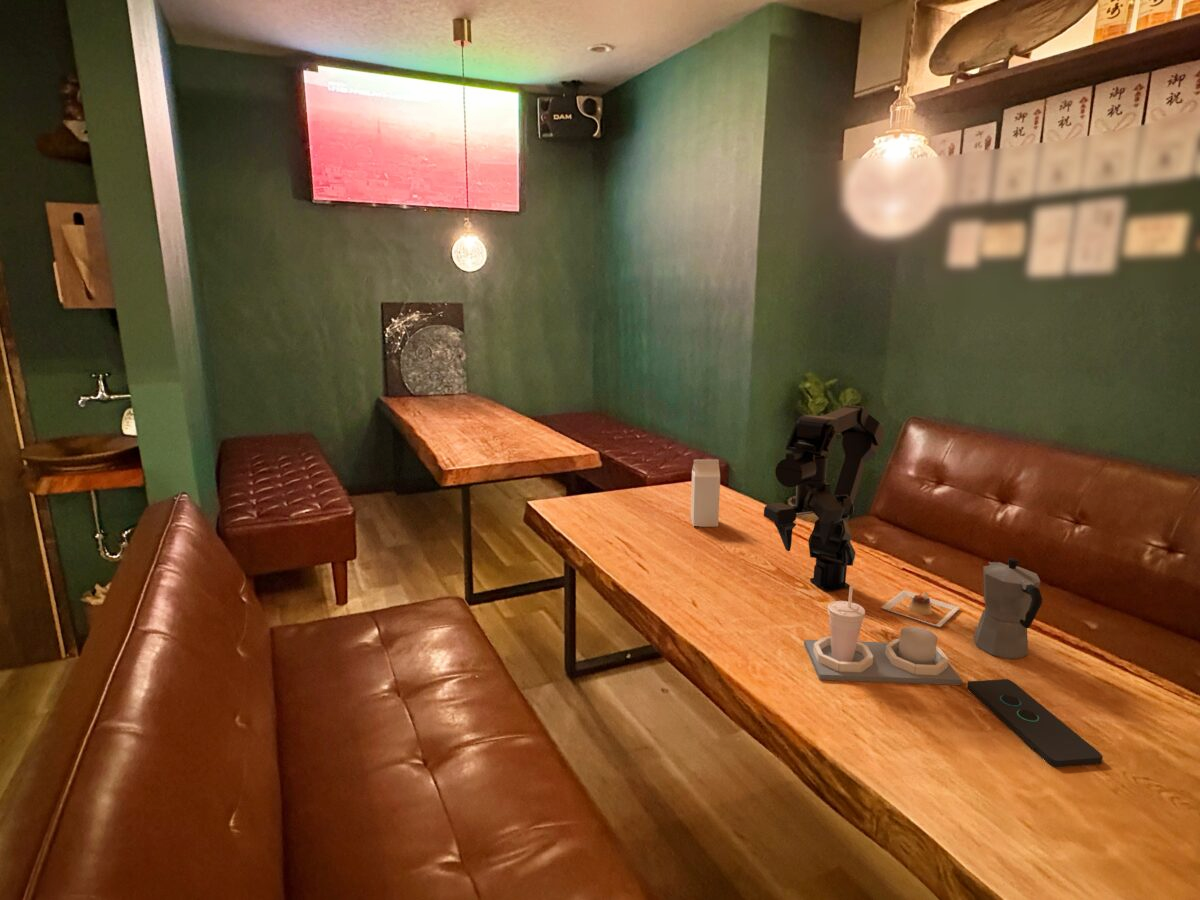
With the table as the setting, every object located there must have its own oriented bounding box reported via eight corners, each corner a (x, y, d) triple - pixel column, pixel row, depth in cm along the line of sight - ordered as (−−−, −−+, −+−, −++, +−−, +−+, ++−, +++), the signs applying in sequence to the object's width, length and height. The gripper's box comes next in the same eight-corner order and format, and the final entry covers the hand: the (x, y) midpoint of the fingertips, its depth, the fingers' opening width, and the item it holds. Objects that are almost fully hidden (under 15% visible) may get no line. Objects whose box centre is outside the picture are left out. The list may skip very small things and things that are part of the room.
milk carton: (718, 527, 192) (720, 463, 188) (693, 527, 192) (695, 463, 188) (714, 518, 199) (716, 456, 194) (690, 518, 199) (692, 456, 195)
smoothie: (868, 663, 120) (875, 591, 117) (836, 668, 119) (843, 595, 116) (847, 645, 126) (853, 576, 123) (817, 650, 125) (822, 580, 122)
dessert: (880, 612, 143) (882, 591, 142) (902, 594, 151) (905, 574, 150) (939, 632, 135) (942, 610, 133) (960, 612, 143) (963, 591, 142)
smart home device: (1010, 677, 116) (1106, 756, 96) (1008, 686, 116) (1104, 766, 97) (964, 680, 115) (1052, 760, 96) (963, 689, 115) (1050, 770, 96)
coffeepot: (957, 629, 134) (969, 545, 130) (1004, 629, 134) (1017, 545, 130) (1001, 672, 120) (1016, 578, 115) (1054, 672, 119) (1071, 578, 115)
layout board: (819, 679, 117) (821, 648, 116) (804, 644, 129) (806, 615, 128) (961, 684, 116) (965, 653, 114) (932, 648, 127) (936, 619, 126)
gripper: (797, 492, 128) (791, 568, 132) (875, 482, 134) (868, 555, 138) (764, 477, 138) (760, 548, 142) (838, 469, 145) (832, 537, 148)
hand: (806, 547), depth 142 cm, fingers open, 9 cm apart
